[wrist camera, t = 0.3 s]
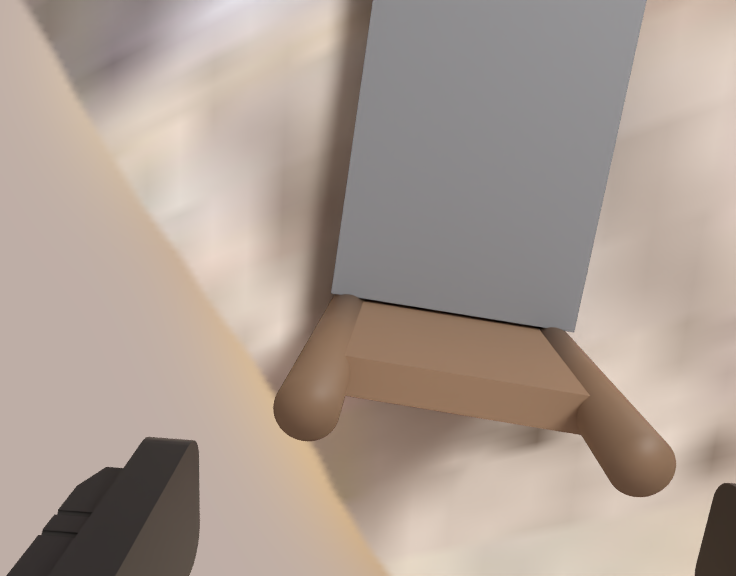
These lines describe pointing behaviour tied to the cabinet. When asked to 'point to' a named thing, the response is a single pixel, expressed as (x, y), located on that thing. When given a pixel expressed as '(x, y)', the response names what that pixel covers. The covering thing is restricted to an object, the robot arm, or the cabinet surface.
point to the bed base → (479, 226)
